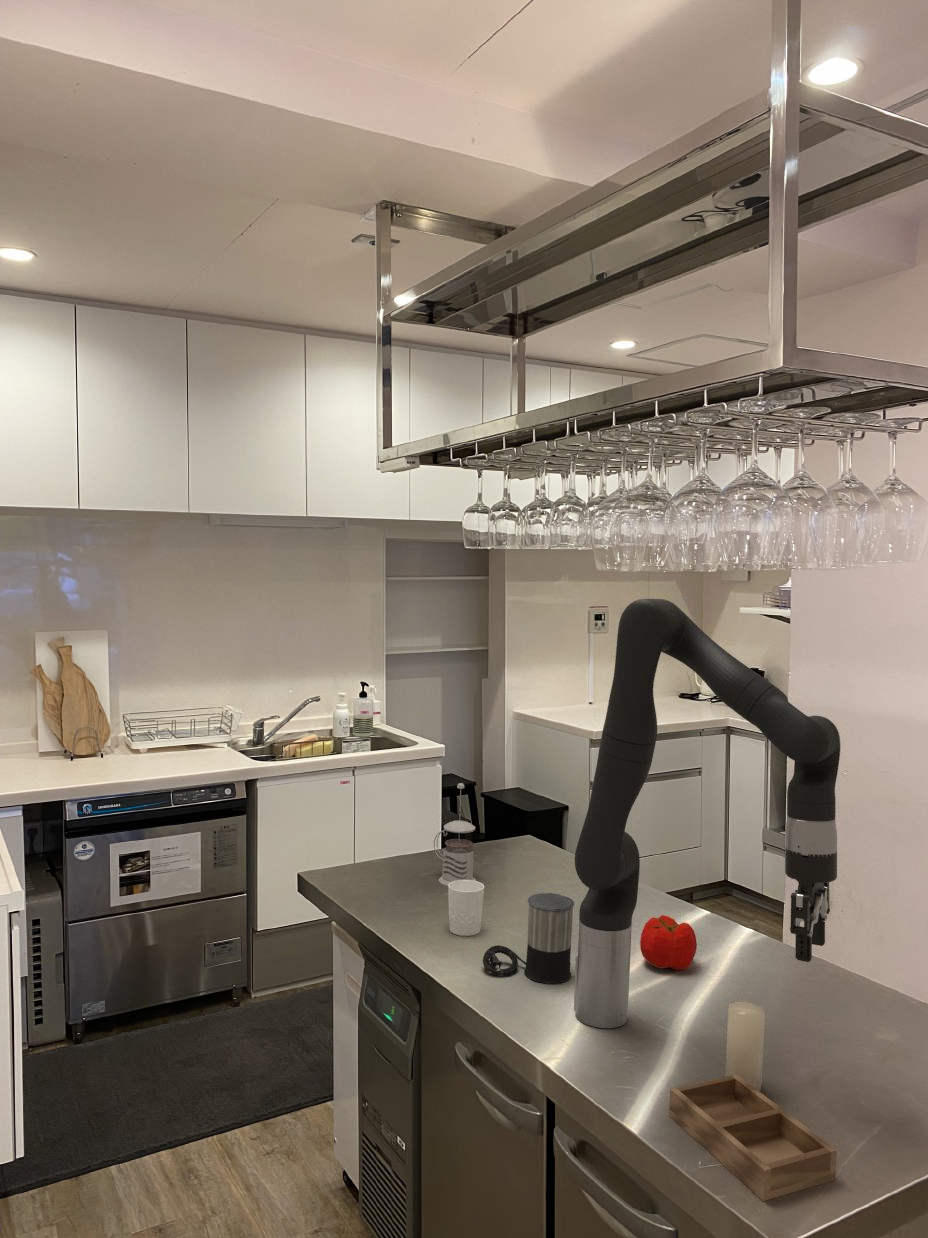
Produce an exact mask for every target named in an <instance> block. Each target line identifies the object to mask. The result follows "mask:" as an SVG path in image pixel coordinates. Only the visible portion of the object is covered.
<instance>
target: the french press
mask: <svg viewBox="0 0 928 1238" xmlns="http://www.w3.org/2000/svg"><path fill="white" fill-rule="evenodd" d="M456 788H457V789H459V790H460V791H459V792H460V793H459V811H461V807H462V804H461V802H462V789H465V784H464V783H463V782H461V783H459V782H458V784H457V786H456ZM475 830H476V825H473V824H472V823H471V822H469V821H466V820H461V814H459V820H453V821H450V822H448V823H446V824H444V825H443V830H441V831H439V832H438V833H437V834H435V837H434V838H433V839H434V840H433V849H434V852H435V854H436V855H437V857H438V858H439V859H441V860H442V870H441V871H442V872H441V873H442V875H441V876H440V877H439V878H438V882H439V883H440V884H442V885H444V886H447V887H448V884H449V883H451V882H453V881H457V880H473V881H477V878H475V877H474V876H473V875H474V855H475V854H474V850H475V849H474V847H472V846H473V845H474V843H473V842H472V841H471V840H469V839H462V838H460V837H461V836H460V834H467V833H472V832H474V831H475ZM445 831H446V832H445ZM448 832H449V833H453V834H454V833H455V834H458V838H453V839H447V840H445V842H444V844H445V847H443V850H442V852H443V853H442V852H441V851H440V848H439V837H440V834H442V833H443V837H447V835H448ZM435 843H436V844H435ZM436 849H437V850H436ZM459 849H460V850H459ZM456 850H459V851H456ZM462 850H464V851H462ZM437 851H438V853H439V854H440V856H439V855H438V853H437Z"/></svg>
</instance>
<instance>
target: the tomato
mask: <svg viewBox="0 0 928 1238" xmlns="http://www.w3.org/2000/svg"><path fill="white" fill-rule="evenodd" d="M639 940H640V941H639V947H640V952H641V956H642V958H643V959H644V960H646V962H648V963H649V964H650V965H651V966H654V967H656V968H659V969H666V968H670V969H672V970H674V971H683V970H686V969H688V968H689V967H690V966H691V965H692V961H693V960H694V958H695V956H696V952H697V947H698V943H697V936H696V933H695V930H694V929H693V928H692V926H691V925H690V924H689V923H688V922H681V923H679V924H678V922H677V921H676V920H675V918H672V917H671V916H668V915H664V914H661V915H660V916H659V917H653V916H652V917H650V918H649V919H648V921H646V923H645V924H644V927H643V928H642V931H641V935H640V939H639Z"/></svg>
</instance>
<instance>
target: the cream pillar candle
mask: <svg viewBox="0 0 928 1238" xmlns="http://www.w3.org/2000/svg"><path fill="white" fill-rule="evenodd" d="M727 1010H728V1013H727V1031H726V1032H727V1034H726V1053H725V1056H726V1057H725V1071H724V1072H725V1076H724V1077H726V1076H730V1075H735V1074H737V1075H738V1076H739V1077H741V1078H742V1079H743V1080H745V1081H746V1082H747V1083H749V1084H750V1085H751V1086H753V1087H754V1088H755V1089H757V1090H758V1091H759V1092H760V1093H761V1090H762V1080H763V1079H762V1075H763V1074H762V1073H763V1060H764V1059H763V1056H764V1039H765V1021H766V1020H765V1017H766V1016H765V1015H766V1011H765V1010H764V1008H763V1007H761V1006H759V1005H757V1004H754V1003H753V1002H752V1003H751V1002H748V1001H747V1002H746V1001H735V1002H731V1003H730V1004H729V1005H728V1009H727Z"/></svg>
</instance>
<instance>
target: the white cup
mask: <svg viewBox="0 0 928 1238" xmlns="http://www.w3.org/2000/svg"><path fill="white" fill-rule="evenodd" d="M447 892H448V896H447V897H448V919H449V931H450V933H451V934H454V935H456V936H461V937H472V936H475V935H478V934H480V932H481V927H482V926H481V925H482V918H483V908H484V896H485V885H484V883H482V882H480V881H477V880H476V881H473V880H457V881H453V882H451V883H449V884H448V886H447Z"/></svg>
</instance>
